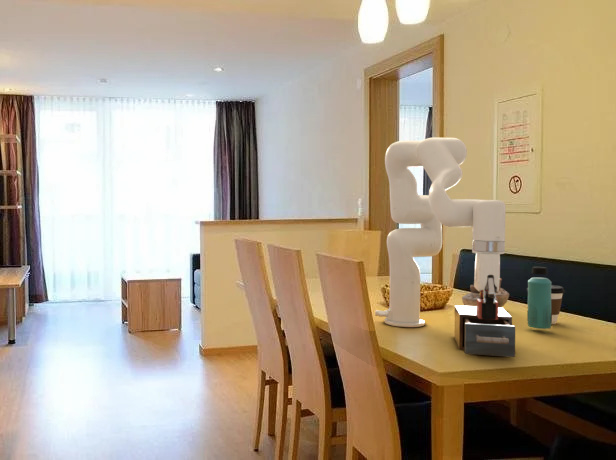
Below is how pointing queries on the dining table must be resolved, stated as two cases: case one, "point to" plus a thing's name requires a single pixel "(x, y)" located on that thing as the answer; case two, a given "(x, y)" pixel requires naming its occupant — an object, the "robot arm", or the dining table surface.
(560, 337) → the dining table surface
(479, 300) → the block
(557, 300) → the coffee cup
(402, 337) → the dining table surface
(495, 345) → the drawer
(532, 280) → the beverage bottle
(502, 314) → the cabinet
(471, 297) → the pottery
